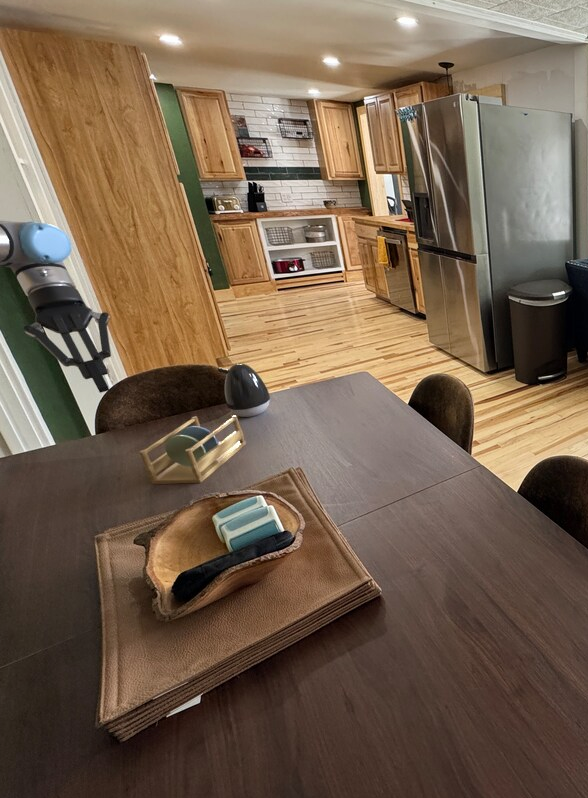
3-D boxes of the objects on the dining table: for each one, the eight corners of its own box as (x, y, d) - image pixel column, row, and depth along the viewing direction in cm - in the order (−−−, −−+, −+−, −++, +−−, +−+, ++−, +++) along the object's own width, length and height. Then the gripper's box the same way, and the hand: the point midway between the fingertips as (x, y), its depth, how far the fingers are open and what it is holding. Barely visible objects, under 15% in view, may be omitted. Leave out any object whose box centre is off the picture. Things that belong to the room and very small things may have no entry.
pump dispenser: (241, 406, 140) (226, 358, 135) (279, 403, 142) (266, 356, 136) (222, 422, 131) (205, 372, 125) (263, 419, 133) (248, 370, 127)
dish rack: (201, 482, 103) (187, 446, 100) (152, 484, 103) (136, 448, 99) (246, 444, 118) (236, 411, 114) (204, 445, 117) (192, 412, 114)
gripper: (1, 290, 94) (56, 395, 93) (92, 278, 103) (142, 373, 103) (11, 307, 99) (63, 406, 99) (96, 294, 108) (144, 384, 108)
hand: (103, 389), depth 101 cm, fingers closed
